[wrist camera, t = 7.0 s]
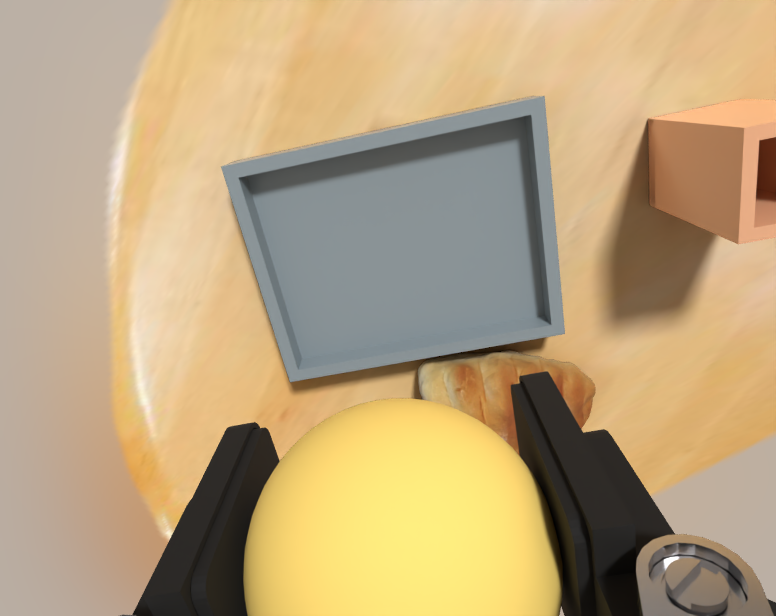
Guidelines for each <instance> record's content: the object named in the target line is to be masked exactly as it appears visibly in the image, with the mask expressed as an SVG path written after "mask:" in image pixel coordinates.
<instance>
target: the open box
mask: <svg viewBox="0 0 776 616" xmlns="http://www.w3.org/2000/svg"><path fill="white" fill-rule="evenodd" d="M648 140H649V201H650V206H652V207H655V208H657V209H659V210H661V211H664V212H666V213H668V214H671V215H673V216H675V217H677V218H680V219H682V220H684V221H687V222H689V223H691V224H693V225H696V226H698V227H700V228H703V229H705V230H707V231H709V232H712V233H714V234H716V235H719V236H721V237H723V238H725V239H728V240H730V241H732V242H734V243H737V244H742V243H748V242H753V241H759V240H764V239H769V238H775V237H776V100H759V99H739V100H734V101H730V102H725V103H720V104H715V105H711V106H706V107H701V108H696V109H692V110H687V111H682V112H677V113H673V114H668V115H663V116H658V117H653V118H649V119H648Z"/></svg>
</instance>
